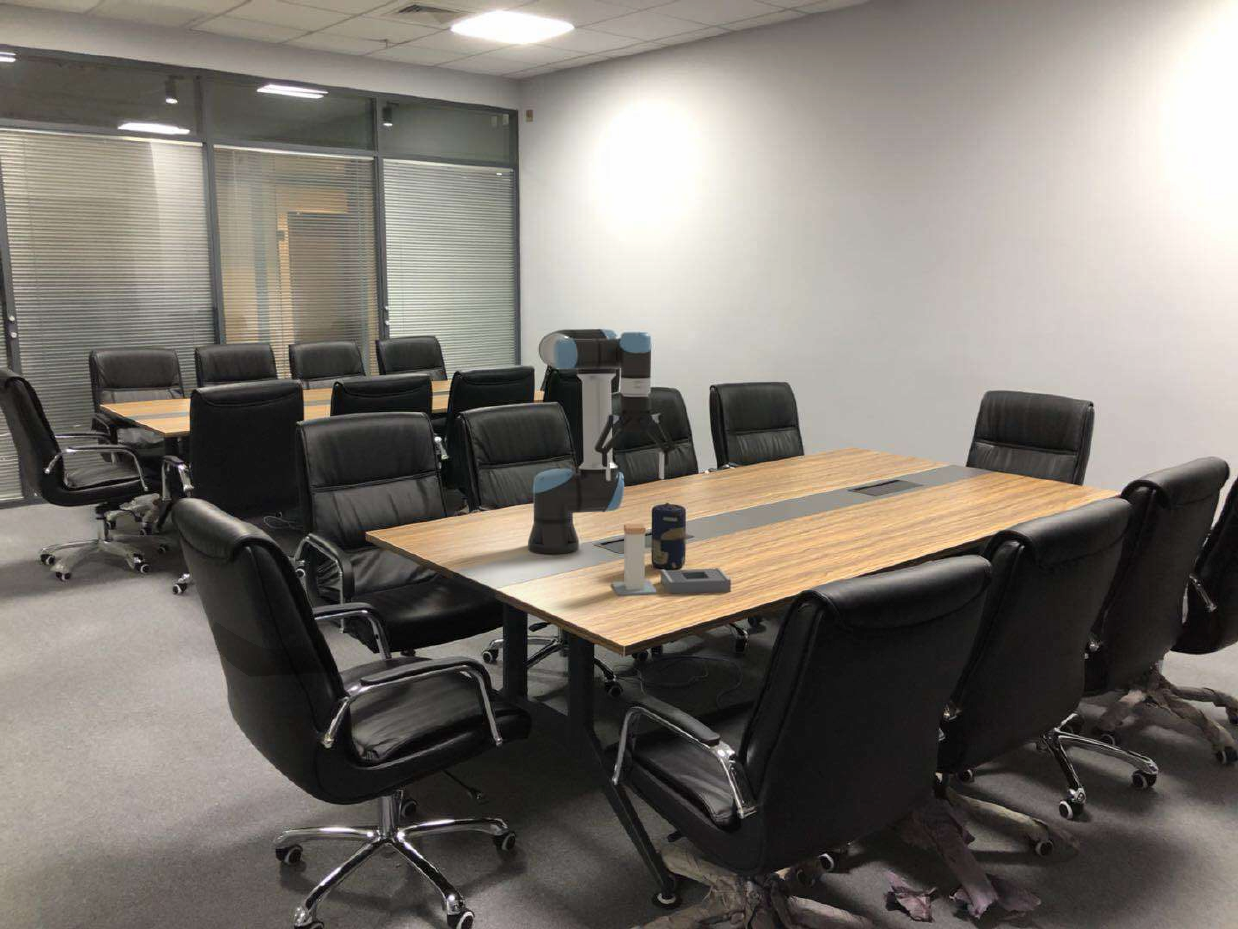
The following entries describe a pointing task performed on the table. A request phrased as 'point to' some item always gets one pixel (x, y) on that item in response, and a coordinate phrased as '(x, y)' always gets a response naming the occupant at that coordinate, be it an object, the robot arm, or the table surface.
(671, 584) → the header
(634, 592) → the pad
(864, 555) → the table surface
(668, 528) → the canister
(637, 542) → the plug
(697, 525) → the table surface
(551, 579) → the table surface
